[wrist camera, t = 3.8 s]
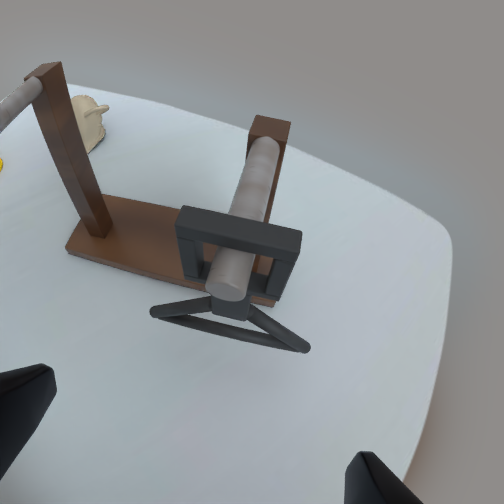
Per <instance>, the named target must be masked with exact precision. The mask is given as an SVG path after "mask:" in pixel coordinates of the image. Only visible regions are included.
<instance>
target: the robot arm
mask: <svg viewBox="0 0 504 504" xmlns="http://www.w3.org/2000/svg"><path fill="white" fill-rule="evenodd" d="M56 392H57V387H56V381H55V375H54V371H53V369H52V368H51V367H49V366H47V365H45V364H43V363H40V364H36V365H32V366H28V367H24V368H19V369H15V370H11V371H7V372H2V373H0V480H1V479H2V477H3V476H4V474H5V473H6V471H7V470H8V468H9V467H10V466H11V464H12V463H13V461H14V460H15V458H16V457H17V455H18V454H19V453H20V451H21V450H22V448H23V447H24V445H25V444H26V443H27V441H28V440H29V438H30V437H31V436H32V434H33V433H34V431H35V430H36V428H37V427H38V425H39V423H40V421H41V420H42V418H43V416H44V414H45V413H46V411H47V409H48V407H49V406H50V404H51V402H52V400H53V399H54V397H55V395H56ZM344 504H423V503H422V502H421V501H420V500H419V499H418V498H417V497H416V496H415V495H414V494H413V493H412V492H411V491H410V490H409V489H408V488H407V487H406V486H405V485H404V484H403V483H402V482H401V481H400V479H399V478H398V477H397V476H396V475H395V474H394V473H393V472H392V471H391V470H390V469H389V468H388V467H387V466H386V465H385V464H384V463H383V462H382V461H381V460H380V459H379V458H378V457H377V456H376V455H375V454H374V453H373V452H371V451H360V452H358V453H357V454H356V456H355V457H354V458H353V460H352V461H351V463H350V464H349V466H348V467H347V469H346V472H345V494H344Z"/></svg>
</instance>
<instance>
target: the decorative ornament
mask: <svg viewBox="0 0 504 504" xmlns="http://www.w3.org/2000/svg"><path fill="white" fill-rule="evenodd" d="M71 103H72V107H73V110H74V114H75V117H76V120H77V124H78V127H79V130H80V133H81V137H82V140H83V143H84V146H85V149H86V152H87V154H88V153H89V152H90V151H91V150H92V148H93V147H94V146H95V145H96V144H97V143H98V142H99V141H100V140H101V139H102V138H103V137H104V135H105V129H104V127H103V126H102V124H101V122H102V116H101V114H103V113H104V112H106V111H108V110H109V106H108V105H102V106H98V105H97V103H96V102H95V101H94V99H93V98H91V97H89V96H87V95H78V96H75V97H73V98H72V99H71Z"/></svg>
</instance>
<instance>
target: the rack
mask: <svg viewBox="0 0 504 504" xmlns="http://www.w3.org/2000/svg"><path fill="white" fill-rule="evenodd" d="M24 81H25V82H24V83H23V84H22V85H21V86H19V87H18V88H17V89H16V90H15V91H13V92H12V93H11V94H10V95H9V96H8V97H7V98H6V99H4V100H3V101H2V102H1V103H0V133H1V132H2V131H3V130H4V129H5V128H6V127H7V126H8V125H9V124H10V123H11V122H12V121H13V120H14V119H15V118H16V117H17V116H18V115H19V114H20V113H21V112H22V111H23V110H24V109H25V108H26V107H27V106H28V105H29V104H30V103H32V106H33V109H34V112H35V115H36V117H37V120H38V123H39V126H40V128H41V131H42V133H43V136H44V139H45V141H46V144H47V146H48V149H49V151H50V153H51V156H52V158H53V160H54V163H55V165H56V167H57V170H58V172H59V174H60V176H61V179H62V181H63V183H64V185H65V187H66V189H67V191H68V194H69V196H70V198H71V200H72V202H73V204H74V206H75V208H76V210H77V212H78V214H79V216H80V218H81V219H80V221H79V223H78V225H77V226H76V228H75V230H74V232H73V233H72V235H71V237H70V239H69V241H68V242H67V244H66V246H65V249H66V250H67V252H68V253H69V254H72V255H75V256H78V257H81V258H85V259H88V260H91V261H95V262H98V263H101V264H105V265H108V266H112V267H115V268H118V269H122V270H125V271H129V272H133V273H136V274H140V275H143V276H147V277H151V278H154V279H158V280H162V281H166V282H169V283H173V284H177V285H181V286H185V287H189V288H193V289H197V290H201V291H205V292H208V293H210V294H211V295H213V296H214V297H217V298H219V299H222V300H226V301H240V300H242V299H244V297H245V296H246V292H247V287H248V283H249V279H250V275H251V271H252V272H256V273H260V274H265V275H268V274H269V271H270V268H271V265H272V261H273V258H270V257H266V256H261V255H257V254H253V253H248V252H244V251H239V250H235V249H231V248H226V247H222V246H217V245H213V244H209V243H204V242H203V251H204V261H209V262H212V265H211V268H210V271H209V274H208V277H207V281H206V284H201V283H197V282H193V281H189V280H185V279H184V275H183V269H182V264H181V259H180V254H179V249H178V244H177V239H176V233H175V228H174V223H175V221H176V219H177V217H178V214H179V212H180V209H176V208H171V207H166V206H161V205H156V204H151V203H146V202H141V201H136V200H131V199H126V198H121V197H116V196H111V195H105V194H101V191H100V188H99V186H98V183H97V180H96V178H95V175H94V172H93V169H92V167H91V164H90V161H89V158H88V155H87V152H86V149H85V146H84V143H83V140H82V137H81V133H80V130H79V127H78V124H77V120H76V117H75V114H74V110H73V107H72V103H71V99H70V95H69V92H68V88H67V84H66V80H65V76H64V71H63V67H62V63H61V62H53V63H47V64H42V65H40V66H39V67H38V68H36V69H35V70H34V71H32V72H31V73H30V74H29V75H27V76H26V77H25V78H24ZM290 125H291V122H289V121H284V120H279V119H274V118H270V117H265V116H260V115H256V116H255V118H254V121H253V124H252V126H251V129H250V131H249V134H248V142H247V151H246V160H245V166H244V168H243V171H242V174H241V177H240V180H239V183H238V186H237V189H236V192H235V195H234V198H233V201H232V203H231V206H230V209H229V212H228V214H229V215H233V216H238V217H242V218H247V219H251V220H256V221H260V222H265V223H269V218H270V214H271V210H272V205H273V201H274V197H275V192H276V188H277V183H278V179H279V175H280V170H281V166H282V161H283V157H284V152H285V148H286V144H287V139H288V134H289V129H290ZM251 303H255V304H259V305H264V306H268V307H274V305H275V303H276V301H274V300H269V299H265V298H260V297H256V296H252V299H251Z"/></svg>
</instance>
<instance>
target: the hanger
mask: <svg viewBox="0 0 504 504" xmlns="http://www.w3.org/2000/svg"><path fill="white" fill-rule="evenodd" d="M174 228H175V233H176V239H177V244H178V249H179V254H180V259H181V264H182V269H183V275H184V279H185V280H189V281H193V282H197V283H201V284H206V281H207V277H208V274H209V271H210V268H211V265H212V262H209V261H204V251H203V242H204V243H209V244H213V245H217V246H222V247H226V248H231V249H235V250H239V251H244V252H248V253H253V254H257V255H261V256H266V257H270V258H273V261H272V265H271V268H270V271H269V274H268V275H265V274H260V273H256V272H252V271H251V275H250V279H249V283H248V287H247V292H246V296H245V297H244V299H242V300H240V301H226V300H222V299H219V298H217V297H214V296H213V295H211V296H207V297H202V298H197V299H191V300H185V301H180V302H174V303H169V304H163V305H157V306H153V307H151V308H150V315H151V316H152V317H153V318H158V319H160V320H163V321H167V322H170V323H174V324H178V325H181V326H185V327H189V328H192V329H196V330H200V331H204V332H208V333H212V334H216V335H220V336H224V337H228V338H232V339H236V340H241V341H245V342H250V343H254V344H259V345H263V346H268V347H273V348H278V349H283V350H288V351H293V352H301V353H304V354H305V353H308V352H309V351H310V349H311V346H310V344H309V343H308V342H307V341H305V340H304V339H302V338H301V337H299V336H298V335H296V334H295V333H293V332H292V331H290V330H289V329H287V328H286V327H284V326H283V325H281V324H280V323H278V322H277V321H275V320H274V319H272V318H271V317H269V316H268V315H266V314H265V313H264V312H262V311H261V310H259V309H258V308H256V307H255V306H253V305H252V304H250V303H251V299H252V296H256V297H260V298H265V299H269V300H274V301H279V300H280V298H281V295H282V293H283V290H284V288H285V286H286V284H287V281H288V279H289V277H290V274H291V272H292V270H293V267H294V265H295V262H296V260H297V258H298V256H299V253H300V248H301V241H302V231H299V230H295V229H291V228H287V227H282V226H278V225H273V224H269V223H265V222H260V221H256V220H251V219H247V218H242V217H238V216H233V215H229V214H224V213H219V212H215V211H210V210H205V209H200V208H196V207H191V206H186V205H183V206H182V208H181V210H180V212H179V214H178V217H177V219H176V221H175V223H174ZM210 311H212V313H213V314H215V315H219V316H223V317H227V318H231V319H236V320H240V321H246V320H248V321H250V322H251V323H253V324H254V325H256V326H258V327H259V328H261V329H263V330H264V331H266V332H267V333H269V334H266V333H262V332H257V331H253V330H248V329H244V328H240V327H235V326H231V325H227V324H223V323H219V322H215V321H211V320H207V319H203V318H199V317H195V316H191V315H187V314H195V313H203V312H210Z"/></svg>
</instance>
